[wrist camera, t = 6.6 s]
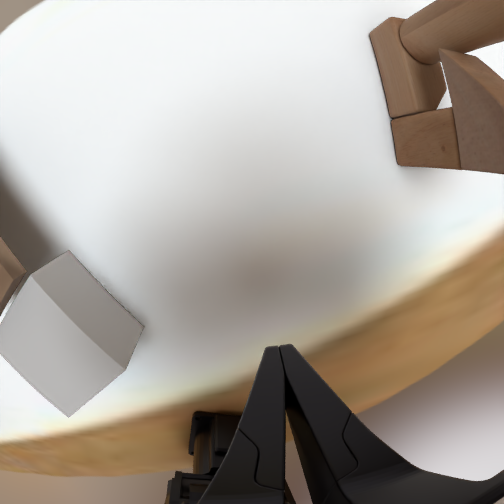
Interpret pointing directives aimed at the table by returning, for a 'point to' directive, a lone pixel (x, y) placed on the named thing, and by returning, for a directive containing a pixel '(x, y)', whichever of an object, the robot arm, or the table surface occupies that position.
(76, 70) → the table surface
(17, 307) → the gray rectangular block
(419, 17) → the wooden block
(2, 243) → the plank
